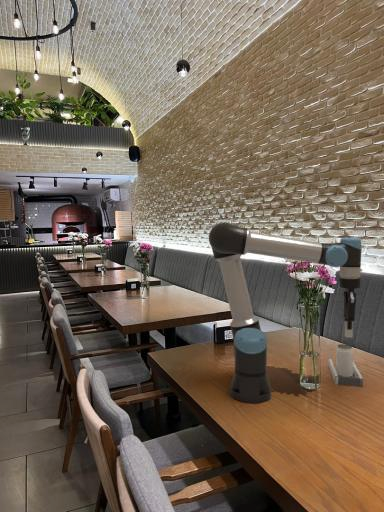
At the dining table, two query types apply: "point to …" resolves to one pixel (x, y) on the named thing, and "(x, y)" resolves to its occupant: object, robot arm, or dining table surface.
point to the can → (344, 360)
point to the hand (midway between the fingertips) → (348, 336)
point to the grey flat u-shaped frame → (346, 380)
